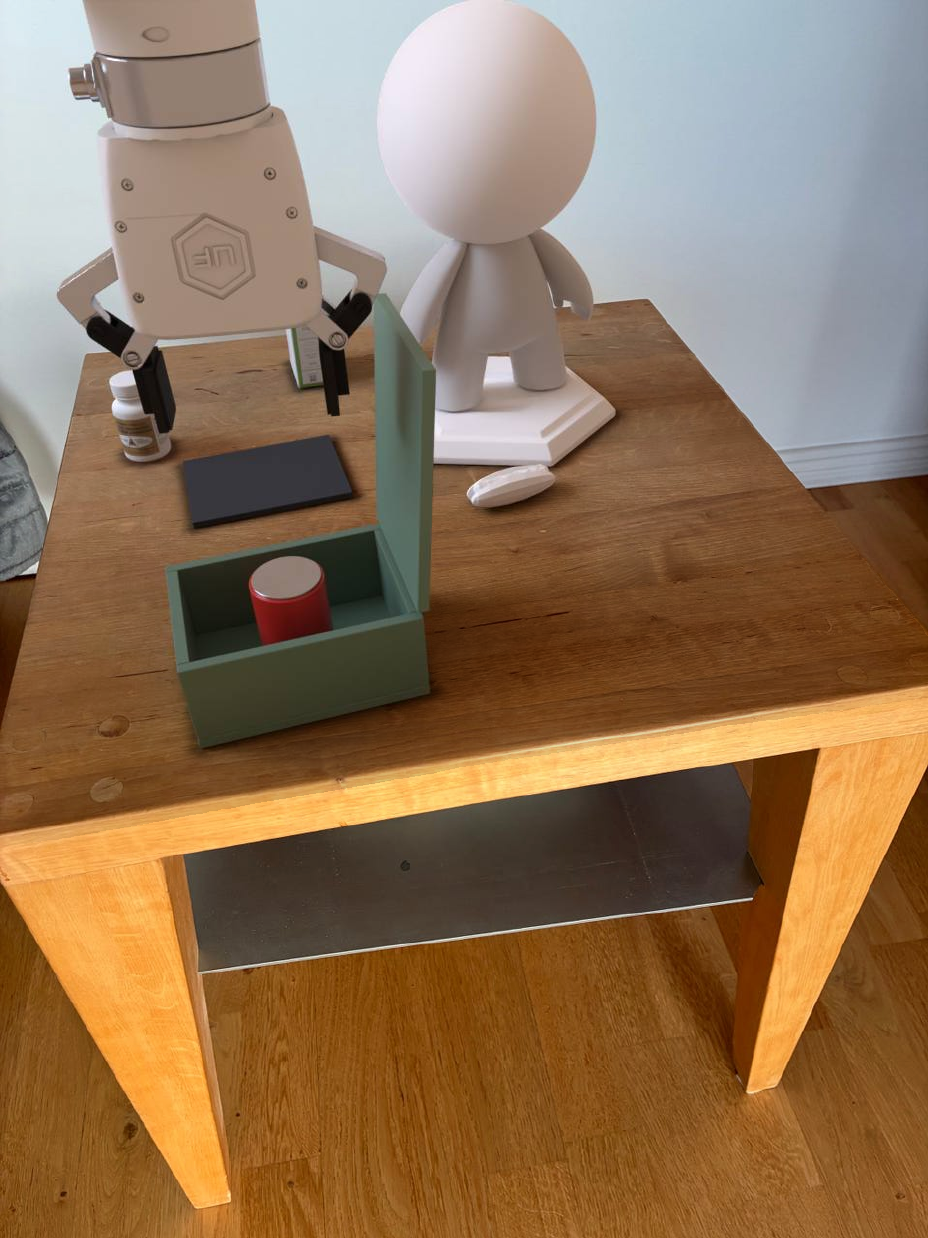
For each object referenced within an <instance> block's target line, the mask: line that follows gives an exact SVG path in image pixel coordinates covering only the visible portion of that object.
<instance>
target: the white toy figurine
mask: <svg viewBox="0 0 928 1238" xmlns="http://www.w3.org/2000/svg"><path fill="white" fill-rule="evenodd" d="M596 134H597V106H596V99H595V94H594V90H593V85H592V82H591V79H590V76H589V73H588V70H587V67H586V65H585V64H584V61H583V59H582V57H581V56H580V54H579V52H578V51H577V49H576V48H575V46H574V44H573V43H572V41H571V40H570V39H569V38H568V37H567V35H565V33H564V32H563V31H562V30H561V29H560V28H559V27H558V26H556V24H554V23H553V22H552V21H550V20H549V19H548V18H547V17H545V16H544V15H542V14H541V13H539V12H537V11H535V10H533V9H531V8H529V7H527V6H526V5H523V4H519V3H517V2H513V1H509V0H464V1H461V2H458V3H454V4H452V5H449V6H447V7H445V8H443V9H440V10H439V11H437V12H435V13H434V14H432V15H430V16H429V17H427V18H426V19H425V20H423V22H421V23H420V24H418V26H417V27H415V28H414V29H413V30H412V31H411V32H410V33H409V35H407V37H406V38H405V39H404V41H403V42H402V43H401V45H400V46H399V48H398V49H397V50H396V51H395V53H394V55H393V57H392V59H391V61H390V63H389V65H388V67H387V69H386V72H385V75H384V77H383V80H382V83H381V88H380V91H379V96H378V102H377V110H376V137H377V145H378V150H379V155H380V157H381V162H382V164H383V168H384V170H385V173H386V175H387V178H388V180H389V182H390V184H391V186H392V188H393V189H394V191H395V193H396V194H397V196H398V198H399V199H400V200H401V202H402V203H403V204H404V206H405V207H406V208H407V209H408V210H409V211H410V212H411V213H412V214H413V216H415V217H416V218H417V219H418V220H419V221H421V222H422V223H423V224H425V225H426V226H427V227H429V228H430V229H432V230H434V231H435V232H437V233H438V234H441V235H443V236H445V237H447V238H450V239H453V240H450V241H449V242H447V243H445V244H444V245H443V246H441V248H440V249H439V250H438V251H437V252H436V253H435V254H434V256H433V257H432V258H431V259H430V261H429V262H428V263H427V264H426V266H424V268H423V270H422V271H421V273H420V274H419V276H418V277H417V279H416V281H415V282H414V284H413V286H412V287H411V289H410V290H409V292H408V293H407V296H406V298H405V300H404V302H403V305H402V307H401V310H400V312H399V314H400V316H401V317H402V319H403V320H404V322H405V323H406V325H407V326H408V328H409V329H410V331H411V332H412V334H413V335H414V337H415V338H416V340H417V341H418V343H419V345H420V346H421V347H422V346H423V345H424V343H425V342H426V341H427V339H428V338H429V337H430V336H431V335H432V333H433V331H434V330H435V328H436V326H437V330H436V335H435V341H434V346H433V353H432V359H431V363H432V364H433V366H434V367H435V369H436V396H435V430H434V465H435V464H439V465H469V466H470V465H471V466H472V465H477V466H509V467H510V466H511V467H512V466H513V467H518V466H528V465H535V466H536V465H539V464H542V465H545V466H547V467H548V468H549V467H553V466H554V465H556V464H557V463H558V462H559V461H561V460H562V459H563V458H564V457H566V456H567V455H568V454H569V453H571V452H572V451H573V450H574V449H576V448H577V447H578V446H580V445H581V444H582V443H584V442H585V440H587V439H589V438H590V437H591V436H592V435H593V434H595V433H596V432H597V431H598V430H599V429H601V428H602V427H603V426H604V425H605V424H607V423H608V422H609V421H610V420H612V419H613V418H614V417H615V416H616V409H615V408H614V406H613V405H612V404H611V403H610V402H609V401H608V399H606V398H605V397H604V396H603V395H602V394H601V393H599V392H598V391H597V390H596V389H594V388H593V387H592V386H591V385H590V384H589V383H587V382H586V381H585V380H584V379H582V378H581V377H580V376H579V375H577V374H576V373H575V372H574V371H573V370H572V369H570V368H569V367H568V366H567V365H566V362H565V361H566V360H565V355H564V354H565V353H564V348H563V343H562V337H561V336H562V335H561V332H560V328H559V323H558V319H557V318H558V317H557V313H556V310H555V308H556V309H558V310H559V309H562V308H563V307H564V301H566V302H569V303H570V304H569V305H570V311H571V312H572V313H573V314H575V315H576V316H577V317H578V318H580V319H581V320H582V321H584V322H586V323H587V322H588V323H589V322H590V321H591V319H592V316H593V314H594V307H595V305H594V303H595V302H594V301H595V300H594V293H593V290H592V286H591V284H590V281H589V278H588V276H587V275H586V273H585V271H584V269H583V268H582V267H581V265H580V264H579V262H578V261H577V259H576V258H575V257H574V256H573V255H572V253H571V252H570V251H569V250H568V249H567V248H566V246H565V245H563V244H562V242H561V241H559V240H558V239H557V238H556V237H555V236H554V235H552V234H551V233H549V232H548V231H547V230H545V229H543V227H545V226H546V225H548V224H549V223H550V222H551V221H552V220H554V219H555V218H556V217H557V216H558V215H559V214H560V213H561V212H562V211H563V210H564V209H565V208H566V207H567V205H569V203H570V202H571V201H572V199H573V198H574V196H575V195H576V193H577V192H578V190H579V189H580V186H581V185H582V183H583V181H584V179H585V176H586V174H587V172H588V169H589V167H590V163H591V162H592V161H591V160H592V157H593V153H594V148H595V143H596V136H597V135H596ZM437 324H438V325H437ZM502 353H508V354H509V355H508V356H495V355H494V356H491V355H490V356H489V354H502Z"/></svg>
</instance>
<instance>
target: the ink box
mask: <svg viewBox="0 0 928 1238" xmlns="http://www.w3.org/2000/svg"><path fill="white" fill-rule="evenodd" d="M285 332H286V333H285V334H286V339H287V345H288V346H287V347H288V352H289V362H290V366H291V369H292V373H293V375H294V378H295V380H296V385H297V387H298V388H299V389H307V388H311V387H324V385H323V378H322V371H321V364H320V357H319V342H318V336H316V335H315V334H314V333H313V332H312V331H311V330H310V329H309V328H308V327H306V326H305V325H303V326H301V327H297V328H291V329H285Z"/></svg>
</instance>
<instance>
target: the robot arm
mask: <svg viewBox="0 0 928 1238" xmlns="http://www.w3.org/2000/svg"><path fill="white" fill-rule="evenodd" d="M82 4H83V9H84V13H85V16H86V20H87V24H88V25H87V26H88V30H89V32H90V36H91V41H92V44H93V49H94V50H95V52H94V54H93V55H92V59H91V60H90V62H89V63H84V64H83V66H81V67H79V66H78V67H69V68H68V70H67V73H68V81H69V86H70V89H71V93H72V95H73V98H74V100H75V101H85V100H90V101H91V102H92V103H100V106H101V108H102V109H104V108H105V113H106V116H107V118H108V119H111V120H109V121H107V122H106V123H105V124H103V125H102V127H101V128H99V129H98V131H97V132H96V136H97V137H96V138H97V139H96V140H97V141H96V142H97V155H98V157H97V158H98V167H99V174H100V184H101V191H102V196H103V203H104V210H105V211H104V212H105V215H106V221H107V228H108V233H109V238H110V244H111V247H110V248H109V249H107V250H105V251H104V252H103V253H101V254H99V255H98V256H97V257H95V258H94V259H92V260H91V261H90V262H88V263H87V264H85V265H84V266H82V267H81V268H79V269H78V270H76V271H75V272H74V273H72V274H71V275H69V276H68V277H66V278H65V279H64V280H63V281H61V283H60V285H59V287H58V288H57V291H56V298H57V300H58V302H59V303H60V304H61V305H62V306H63V308H65V310H66V311H67V312H68V313H69V314H70V315H71V316H72V318H73V319H74V320H75V321H76V322H77V323H78V324H79V325H81V326H82V327H83V329H84V330H85V332H86V335H87V336H88V338H90V340H92V341H93V342H95V343H97V344H98V345H99V346H101V347H103V348H104V349H105V350H107V351H109V352H110V353H111V354H113V355H115V356H116V357H117V358H119V359H120V361H121V364H122V365H123V366H124V367H125V368H126V369H128V370H132V372H133V375H134V379H135V383H136V386H137V390H138V393H139V397H140V401H141V404H142V408H143V411H144V414H145V415H146V414H154V417H155V421H156V424H157V428H158V432H159V434H163V433H168V434H170V431H173V428H174V423H175V418H176V413H177V405H176V401H175V397H174V393H173V390H172V384H171V382H170V377H169V373H168V368H167V365H166V361H165V357H164V353H163V350H162V349H160V350H159V346H158V345H156V344H157V343H158V341H159V340H160V341H173V340H176V341H177V340H187V339H188V340H189V339H201V338H210V337H212V338H213V337H223V336H233V335H245V334H255V333H264V332H275V331H286V329H291V328H297V327H301V326H303V325H305V326H306V327H308V328H309V329H310V330H311V331H312V332H313V333H314V334H315V335H316V336H318V342H319V357H320V364H321V371H322V378H323V385H324V386H323V392H324V399H325V407H326V413H327V415H330V417H332V418H333V417H341V410H340V399H339V397H340V396H347V395H348V396H349V395H351V393H350V385H349V375H348V367H347V360H346V351H345V349H346V348H347V346H348V345H349V340H350V338H351V337H352V336H353V335H354V334H355V332H356V331H357V330H358V329H359V328H360V326H361V325H362V324H363V323H364V322H365V320H367V318H368V317H369V316H370V315H371V313H372V311H373V306H374V301H375V298H376V297H377V295H378V294H379V293H380V290H381V287H382V286H383V285H382V284H383V282H384V281H385V278H386V275H387V272H388V268H387V266H388V265H387V262H386V258H385V256H384V255H383V254H382V253H380V252H378V251H375V250H373V249H371V248H368V247H366V246H364V245H361V244H359V243H356V242H354V241H352V240H349V239H347V238H345V237H342V236H339V235H338V234H336V233H333V232H330V231H328V230H325V229H323V228H321V227H318V226H316V225H314V219H313V215H312V211H311V210H312V209H311V205H310V200H309V195H308V194H309V193H308V190H307V185H306V181H305V176H304V172H303V167H302V162H301V159H300V156H299V152H298V148H297V144H296V141H295V138H294V135H293V132H292V128H291V126H290V123H289V121H288V117H287V115H286V113H285V111H284V110H283V109H281V108H280V107H277V106H275V105H271V100H270V99H271V98H270V93H269V92H270V91H269V86H268V80H267V72H266V67H265V66H266V65H265V59H264V52H263V45H262V39H261V37H260V36H261V32H260V26H259V18H258V12H257V5H256V0H82ZM320 261H321V262H324V263H326V264H329V265H332V266H334V267H336V268H339V269H341V270H344V271H346V272H349V273H351V274H352V275H355V279H354V283H353V286H352V288H351V289H350V290H349V291H348V293H347V294H346V295H345V296H344V297H343V298H342V300H341V301H340V302H339V304H338V305H337V306H335V305H334V304H333V303H332V302H331V301H330V300H329V299H328V297H325V295H324V294H323V283H322V274H321V265H320ZM117 281H118V283H119V287H120V290H121V296H122V301H123V304H124V308H125V311H126V315H127V317H128V320H129V323H130V324H131V325H129V324H128V323H127V322H125V321H124V320H122V319H120V318H119V317H117V316H116V315H114V314H113V313H112V312H110V311H108V310H107V309H104V307H103V306H102V305H101V303H100V302H99V300H98V299H97V297H96V295H97V294H99V293H100V292H102V291H103V290H105V289H106V288H108V287H110V286H111V285H112V284H113V283H115V282H117Z"/></svg>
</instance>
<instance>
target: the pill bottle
mask: <svg viewBox="0 0 928 1238" xmlns="http://www.w3.org/2000/svg"><path fill="white" fill-rule="evenodd" d="M109 387H110V390H111V391H110V392H111V393H112V396H113V397H114V398H115V399H114V400H113V402H112V404H111V411H112V416H113V419H114V422H115V425H116V428H117V432H118V436H119V439H120V442H121V445H122V448H123V452H124V455H125V456H126V458H127V459H128V460H130V461H132V462H136V463H137V462H138V463H149V462H154V461H157V460H161V459H163V458H164V457H166V456H167V455H168V454H169V453H170V451H171V450H172V442H171V438H170V435H169V434H170V433H163V434H159V432H158V428H157V424H156V421H155V417H154V414H146V415H145V414H144V411H143V408H142V404H141V401H140V397H139V393H138V390H137V386H136V383H135V379H134V375H133V372H132V369H128V370H124V371H120V372H118V373H116V374H114V375H111V377H110V378H109Z"/></svg>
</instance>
